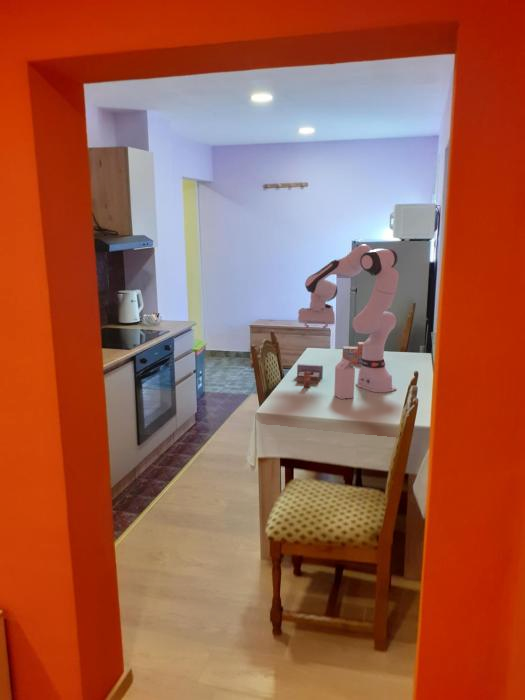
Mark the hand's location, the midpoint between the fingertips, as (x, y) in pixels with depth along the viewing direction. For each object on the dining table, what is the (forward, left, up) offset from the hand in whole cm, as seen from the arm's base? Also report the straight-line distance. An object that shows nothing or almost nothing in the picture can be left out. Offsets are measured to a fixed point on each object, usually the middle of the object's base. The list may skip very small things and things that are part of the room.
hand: (315, 329), depth 314 cm
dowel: (-17, +12, -27) cm, 34 cm away
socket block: (-6, +6, -27) cm, 29 cm away
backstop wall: (0, +3, -27) cm, 27 cm away
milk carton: (-38, +3, -27) cm, 47 cm away
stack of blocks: (+22, -42, -27) cm, 55 cm away
